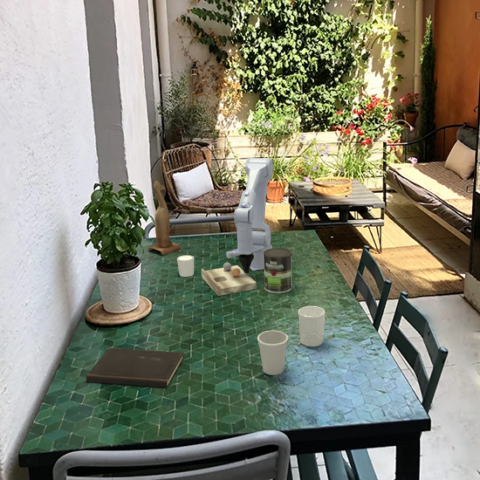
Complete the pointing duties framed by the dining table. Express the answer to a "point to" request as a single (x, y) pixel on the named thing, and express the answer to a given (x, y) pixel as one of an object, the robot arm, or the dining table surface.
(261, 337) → the dixie cup
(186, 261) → the white tapered cylinder
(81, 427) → the dining table surface
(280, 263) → the coffee can
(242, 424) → the dining table surface
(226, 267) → the grey ball
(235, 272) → the ball
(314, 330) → the white cup
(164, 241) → the bird sculpture
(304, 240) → the dining table surface
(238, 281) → the light wood flat tray
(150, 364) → the hardcover book
